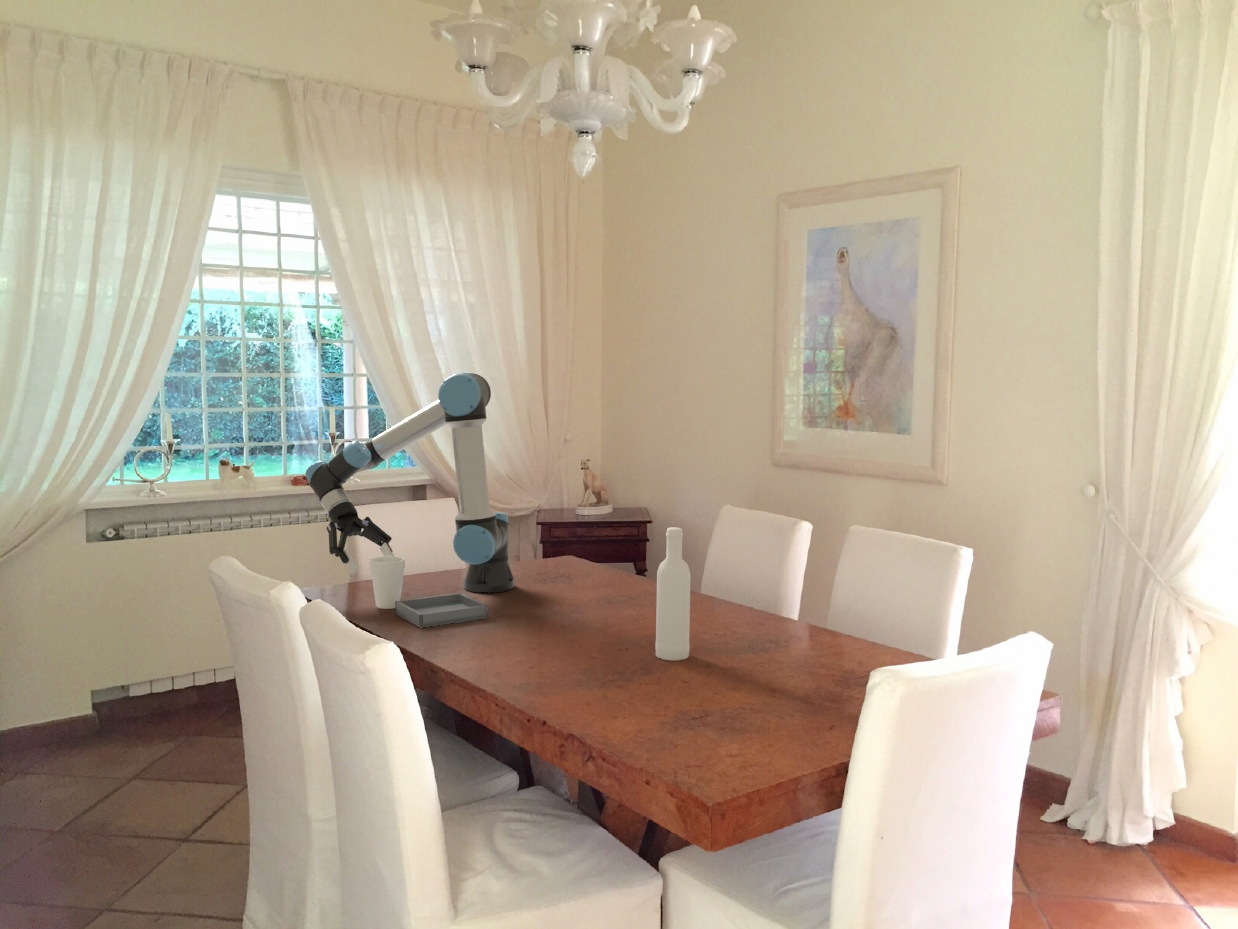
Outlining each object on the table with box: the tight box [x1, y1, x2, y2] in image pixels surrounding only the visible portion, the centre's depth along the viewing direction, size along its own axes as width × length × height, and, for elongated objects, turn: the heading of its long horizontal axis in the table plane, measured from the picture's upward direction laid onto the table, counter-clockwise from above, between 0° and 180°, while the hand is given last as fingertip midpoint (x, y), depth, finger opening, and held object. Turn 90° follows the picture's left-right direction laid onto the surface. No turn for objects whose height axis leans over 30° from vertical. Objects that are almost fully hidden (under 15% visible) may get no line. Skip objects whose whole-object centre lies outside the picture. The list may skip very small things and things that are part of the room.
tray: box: [394, 592, 489, 628], centre depth 255 cm, size 19×17×4 cm
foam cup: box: [369, 556, 406, 610], centre depth 265 cm, size 10×9×13 cm
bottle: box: [654, 526, 692, 662], centre depth 221 cm, size 8×8×30 cm
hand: (374, 567), depth 267 cm, fingers open, 13 cm apart
